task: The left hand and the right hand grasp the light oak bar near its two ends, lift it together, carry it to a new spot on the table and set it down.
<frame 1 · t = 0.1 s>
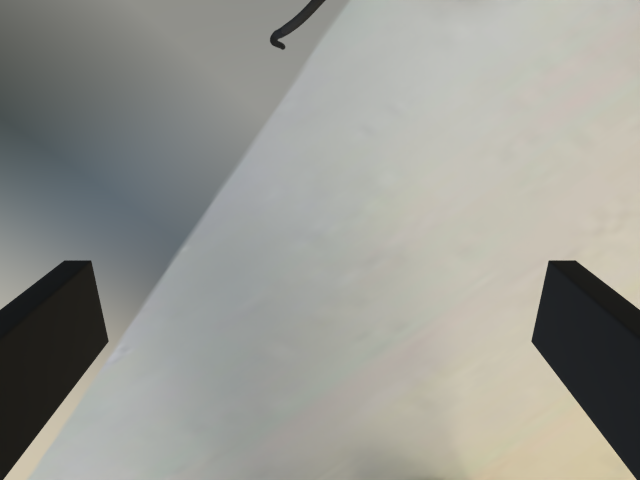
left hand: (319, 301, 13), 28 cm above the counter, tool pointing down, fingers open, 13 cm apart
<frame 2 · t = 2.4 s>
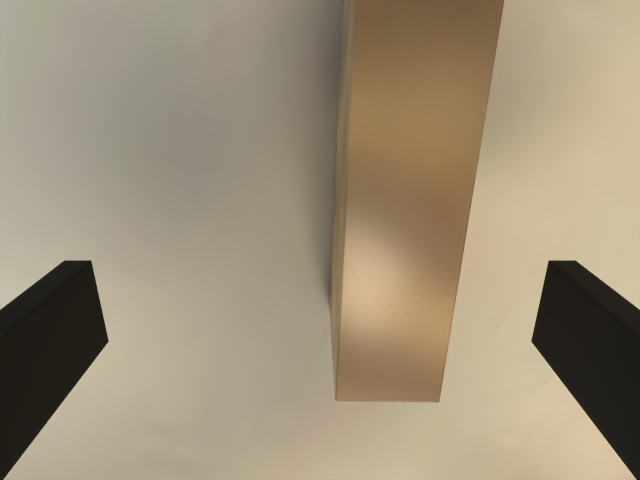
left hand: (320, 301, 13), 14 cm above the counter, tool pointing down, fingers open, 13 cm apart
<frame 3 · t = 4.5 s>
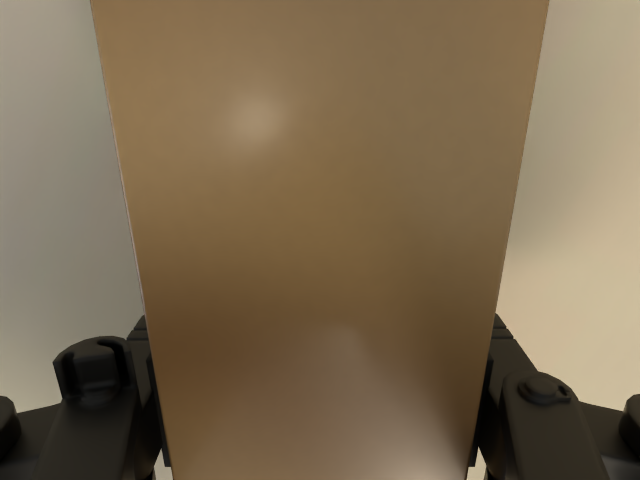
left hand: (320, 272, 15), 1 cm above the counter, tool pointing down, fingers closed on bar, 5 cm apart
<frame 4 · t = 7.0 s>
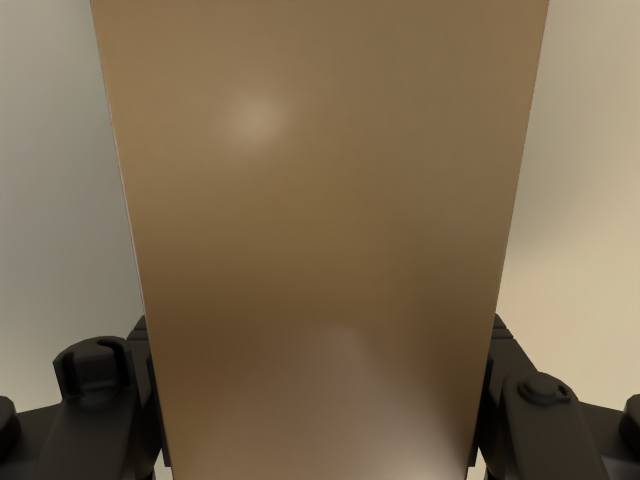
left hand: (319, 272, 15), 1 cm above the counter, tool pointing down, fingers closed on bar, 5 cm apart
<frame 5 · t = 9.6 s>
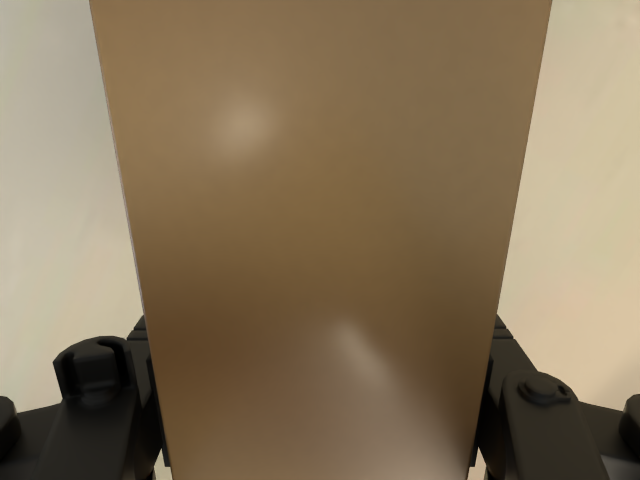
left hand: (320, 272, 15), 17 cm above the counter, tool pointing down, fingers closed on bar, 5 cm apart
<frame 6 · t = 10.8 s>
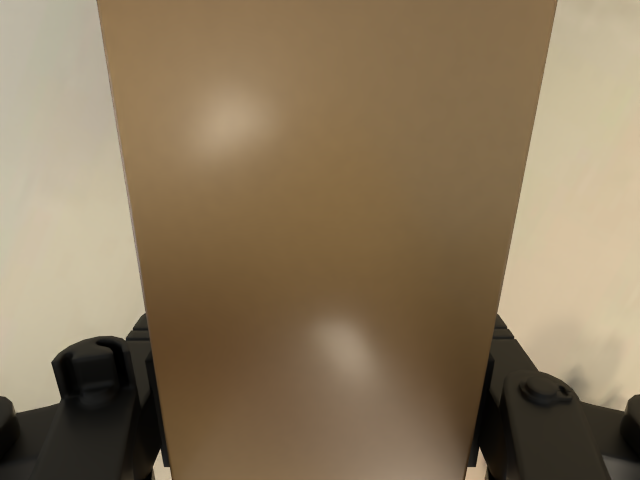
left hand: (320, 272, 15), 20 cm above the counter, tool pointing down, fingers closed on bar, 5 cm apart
when the left hand's fingers open (2 cm above the counter, at t = 14.8 s): bar drops 1 cm, on the counter.
when the right hand's fingers open (5 cm above the counter, at t = 14.9 s): bar stays where it is, on the counter.
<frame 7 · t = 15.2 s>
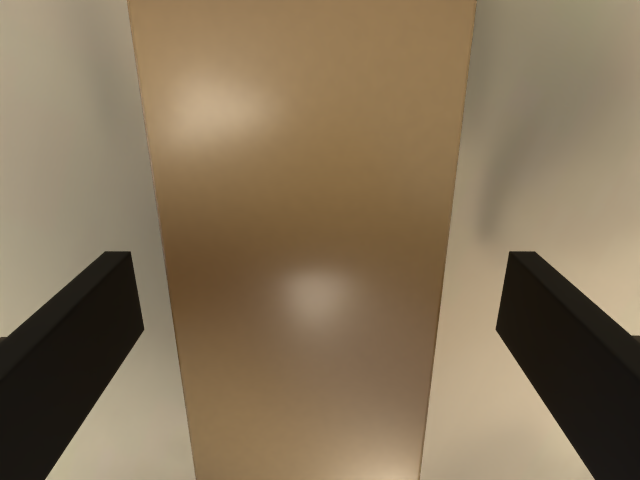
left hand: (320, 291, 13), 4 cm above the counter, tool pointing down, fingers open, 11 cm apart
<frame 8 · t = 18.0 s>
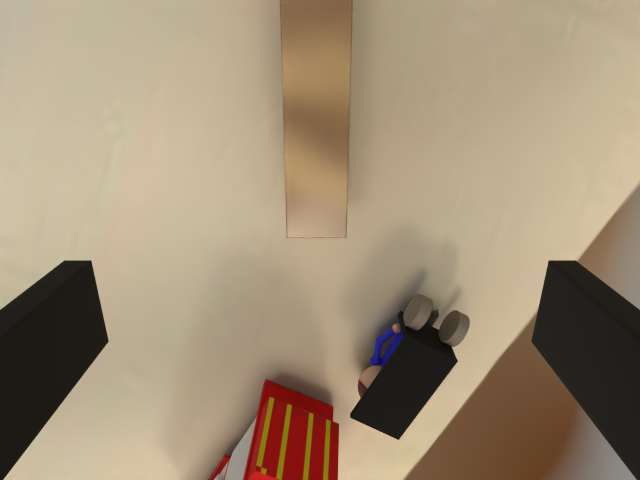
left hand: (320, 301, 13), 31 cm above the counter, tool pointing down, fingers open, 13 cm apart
figurine character: (399, 339, 50), on the counter
toy: (255, 465, 58), on the counter
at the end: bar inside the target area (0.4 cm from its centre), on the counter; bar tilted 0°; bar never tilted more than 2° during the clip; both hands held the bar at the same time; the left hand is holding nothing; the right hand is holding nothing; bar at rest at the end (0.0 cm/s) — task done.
